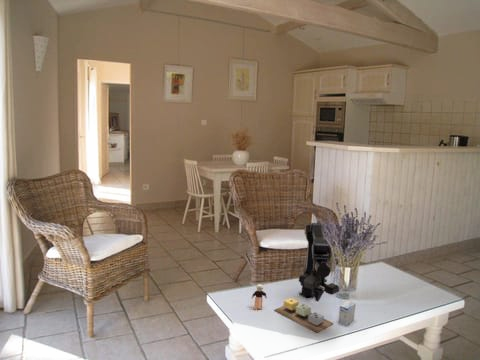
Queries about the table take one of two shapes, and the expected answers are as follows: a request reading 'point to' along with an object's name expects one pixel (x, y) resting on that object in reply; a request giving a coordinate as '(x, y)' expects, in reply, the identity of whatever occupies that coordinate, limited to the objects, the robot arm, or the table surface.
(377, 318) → the table surface
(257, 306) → the grandmother figurine
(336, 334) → the table surface
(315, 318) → the slate tile
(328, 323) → the button board
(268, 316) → the table surface
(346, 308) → the medicine box
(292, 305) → the mustard tile
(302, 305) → the sage tile
